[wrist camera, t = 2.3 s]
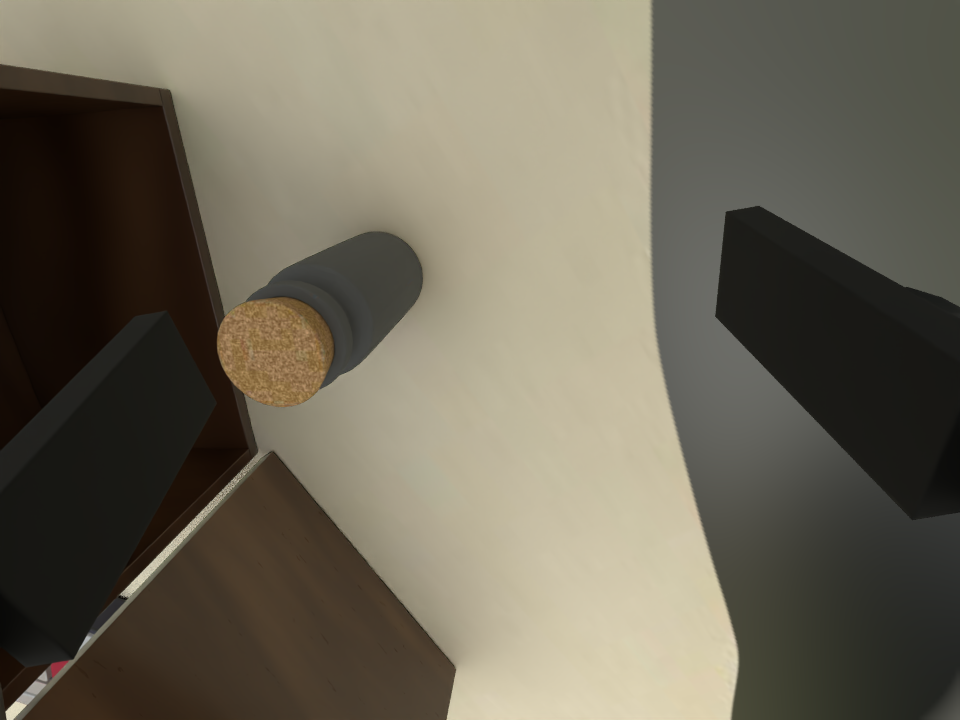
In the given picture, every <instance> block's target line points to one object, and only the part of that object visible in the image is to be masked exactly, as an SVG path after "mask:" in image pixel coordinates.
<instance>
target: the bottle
mask: <svg viewBox="0 0 960 720" xmlns="http://www.w3.org/2000/svg"><path fill="white" fill-rule="evenodd" d="M422 281H423V277H422V268H421V265H420V263H419V260H418V258H417V256H416V254H415V253H414V251H413V250H412V249H411V248H410V246H409V245H408V244H406V243H405V242H404V241H403V240H401V239H400V238H398V237H396V236H394V235H391V234H388V233H385V232H368V233H364V234H361V235H358V236H356V237H354V238H351V239H349V240H346V241H344V242H342V243H339V244H337V245H335V246H333V247H330V248H328V249H326V250H324V251H321V252H319V253H317V254H315V255H312V256H310V257H308V258H306V259H304V260H302V261H299V262H297V263H295V264H293V265H291V266H289V267H287V268H285V269H283V270H282V271H281V272H279V273H278V274H277V275H275V276H274V277H273V278H272V279H271V281H270V282H269V283H268V285H267V286H265V287H263V288H261V289H259V290H258V291H256V292H255V293H253V294H252V295H251V296H250V297H249V298H248V299H247V301H246V302H245V303H242V304H240V305H238V306H236V307H235V308H234V309H233V310H231V311H230V312H229V313H228V314H227V315H226V316H225V318H224V319H223V321H222V323H221V325H220V328H219V331H218V336H217V350H218V355H219V359H220V362H221V365H222V367H223V369H224V371H225V373H226V374H227V376H228V377H229V379H230V380H231V381H232V382H233V384H234V385H235V386H236V387H237V388H238V389H239V390H241V391H242V392H243V393H244V394H246V395H247V396H249V397H250V398H252V399H254V400H256V401H258V402H261V403H263V404H266V405H271V406H276V407H287V406H294V405H298V404H300V403H303V402H305V401H307V400H308V399H309V398H311V397H312V396H313V395H314V394H315V393H316V392H317V391H318V390H319V389H321V388H323V387H325V386H327V385H329V384H330V383H331V382H333V381H334V380H335V379H336V378H337V377H338V376H339V375H340V374H344V373H346V372H348V371H350V370H352V369H353V368H355V367H356V366H357V365H359V364H360V363H361V362H362V361H363V360H364V359H365V358H366V357H367V356H368V355H369V354H370V353H371V352H372V351H373V349H374V348H375V347H376V346H377V345H378V344H379V343H380V342H381V341H382V340H383V338H384V337H385V336H386V335H387V334H388V333H389V332H390V331H391V330H392V328H393V327H394V326H395V325H396V324H397V323H398V322H399V321H400V319H401V318H402V317H403V316H404V315H405V314H406V313H407V312H408V310H409V309H410V308H411V307H412V306H413V304H414V303H415V302H416V300H417V298H418V296H419V294H420V291H421V288H422Z"/></svg>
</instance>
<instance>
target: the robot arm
mask: <svg viewBox="0 0 960 720" xmlns="http://www.w3.org/2000/svg"><path fill="white" fill-rule="evenodd" d="M715 317H716V318H717V319H718V320H719V321H720V322H721V323H722V324H723V325H724V326H725V327H726V328H727V329H728V330H729V331H730V332H731V333H732V334H733V335H734V336H735V337H736V338H737V339H738V340H739V341H740V343H742V345H743V346H745V348H746V349H747V350H748V351H749V352H750V353H751V354H752V355H753V356H754V357H755V358H756V359H757V360H758V361H759V362H760V363H761V364H762V365H763V366H764V367H765V368H766V369H767V370H768V371H769V373H771V375H772V376H774V378H775V379H776V380H777V381H778V382H779V383H780V384H781V385H782V386H783V387H784V388H785V389H786V390H787V391H788V392H789V393H790V394H791V395H792V396H793V397H794V398H795V399H796V400H797V401H798V403H799V404H800V405H801V406H802V407H803V408H804V409H805V410H806V411H807V412H809V414H810V415H811V416H812V417H813V418H814V419H815V420H816V421H817V422H818V423H819V424H820V425H821V426H822V427H823V428H824V429H825V430H826V431H827V433H829V435H830V436H831V437H832V438H833V439H834V440H835V441H836V442H837V443H838V444H839V445H840V446H841V447H842V448H843V449H844V450H845V451H846V452H847V453H848V454H849V455H850V456H851V457H852V458H853V459H854V460H855V461H856V463H857V464H859V466H860V467H861V468H862V469H863V470H864V471H865V472H866V473H867V474H868V475H869V476H870V477H871V478H872V479H873V480H874V481H875V482H876V483H877V484H878V485H879V486H880V487H881V488H882V489H883V490H884V491H885V492H886V493H887V495H888V496H889V497H890V498H891V499H892V500H893V501H894V502H895V503H896V504H897V505H898V506H899V507H900V508H901V509H902V510H903V511H904V512H905V513H906V514H907V515H908V516H909V517H910V518H911V519H912V520H916V519H922V518H928V517H934V516H940V515H946V514H952V513H958V512H960V307H959V306H957V305H955V304H953V303H951V302H949V301H947V300H946V299H943V298H942V297H939V296H935V295H932V294H928V293H925V292H922V291H919V290H915V289H912V288H909V287H903V286H901V285H899V284H898V283H896V282H894V281H892V280H890V279H889V278H887V277H885V276H883V275H882V274H880V273H878V272H876V271H874V270H873V269H871V268H869V267H867V266H866V265H863V264H862V263H860V262H858V261H857V260H855V259H853V258H851V257H849V256H848V255H846V254H844V253H842V252H840V251H839V250H837V249H835V248H833V247H832V246H830V245H828V244H826V243H824V242H823V241H821V240H819V239H817V238H816V237H814V236H812V235H810V234H808V233H807V232H805V231H803V230H801V229H800V228H798V227H796V226H794V225H792V224H791V223H789V222H787V221H785V220H783V219H782V218H780V217H778V216H776V215H775V214H773V213H771V212H769V211H767V210H765V209H764V208H762V207H760V206H755V207H750V208H744V209H738V210H733V211H727V212H726V216H725V225H724V235H723V245H722V255H721V265H720V275H719V285H718V295H717V305H716V315H715ZM216 404H217V402H216V401H215V399H214V397H213V395H212V393H211V391H210V389H209V387H208V386H207V384H206V382H205V380H204V378H203V376H202V374H201V373H200V371H199V369H198V367H197V365H196V363H195V361H194V360H193V358H192V356H191V354H190V352H189V350H188V348H187V347H186V345H185V343H184V341H183V339H182V337H181V335H180V334H179V332H178V330H177V328H176V326H175V324H174V322H173V321H172V319H171V317H170V315H169V313H168V311H162V312H156V313H151V314H145V315H139V316H135V317H134V318H133V319H132V320H131V321H130V322H129V323H128V324H127V325H126V326H125V327H124V328H123V329H122V330H121V331H120V332H119V333H118V334H117V335H116V336H115V337H114V338H113V339H112V340H111V341H110V342H109V343H108V344H107V345H106V346H105V347H104V348H103V349H102V350H101V351H100V352H99V353H98V354H97V355H96V356H95V357H94V358H93V359H92V360H91V361H90V362H89V363H88V364H87V365H86V366H85V367H84V368H83V369H82V370H81V371H80V372H79V373H78V374H77V375H76V376H75V377H74V378H73V379H72V380H71V381H70V382H69V383H68V384H67V385H66V386H65V387H64V388H63V389H62V390H61V391H60V392H59V393H58V394H57V395H56V396H55V397H54V398H53V399H52V400H51V401H50V402H49V403H48V404H47V405H46V406H45V407H44V408H43V409H42V410H41V411H40V412H39V413H38V414H37V415H36V416H35V417H34V418H33V419H32V420H31V421H30V422H29V423H28V424H27V425H26V426H25V427H24V428H23V429H22V430H21V431H20V432H19V433H18V434H17V435H16V436H15V437H14V438H13V439H12V440H11V441H10V442H9V443H8V444H7V445H6V446H5V447H4V448H3V449H2V450H1V451H0V648H1V647H2V648H3V649H4V650H5V651H7V652H8V653H9V654H10V655H11V656H13V657H14V658H15V659H16V660H17V661H19V662H20V663H21V664H22V665H23V666H25V667H32V666H38V665H44V664H50V663H56V662H62V661H68V660H74V658H75V656H76V654H77V652H78V651H79V649H80V647H81V645H82V644H83V642H84V640H85V638H86V636H87V635H88V633H89V631H90V629H91V627H92V626H93V624H94V622H95V620H96V618H97V617H98V615H99V613H100V611H101V610H102V608H103V606H104V604H105V602H106V601H107V599H108V597H109V595H110V593H111V592H112V590H113V588H114V586H115V585H116V583H117V581H118V579H119V577H120V576H121V574H122V572H123V570H124V568H125V567H126V565H127V563H128V561H129V559H130V558H131V556H132V554H133V552H134V551H135V549H136V547H137V545H138V543H139V542H140V540H141V538H142V536H143V534H144V533H145V531H146V529H147V527H148V525H149V524H150V522H151V520H152V518H153V517H154V515H155V513H156V511H157V509H158V508H159V506H160V504H161V502H162V500H163V499H164V497H165V495H166V493H167V491H168V490H169V488H170V486H171V484H172V483H173V481H174V479H175V477H176V475H177V474H178V472H179V470H180V468H181V466H182V465H183V463H184V461H185V459H186V458H187V456H188V454H189V452H190V450H191V449H192V447H193V445H194V443H195V441H196V440H197V438H198V436H199V434H200V432H201V431H202V429H203V427H204V425H205V424H206V422H207V420H208V418H209V416H210V415H211V413H212V411H213V409H214V407H215V406H216ZM0 720H6V713H5V707H4V700H3V694H2V688H1V683H0Z"/></svg>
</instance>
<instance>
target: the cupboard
mask: <svg viewBox="0 0 960 720" xmlns="http://www.w3.org/2000/svg"><path fill="white" fill-rule="evenodd" d="M162 311H168V313H169V315H170V317H171V319H172V321H173V322H174V324H175V326H176V328H177V330H178V332H179V334H180V335H181V337H182V339H183V341H184V343H185V345H186V347H187V348H188V350H189V352H190V354H191V356H192V358H193V360H194V361H195V363H196V365H197V367H198V369H199V371H200V373H201V374H202V376H203V378H204V380H205V382H206V384H207V386H208V387H209V389H210V391H211V393H212V395H213V397H214V399H215V401H216V402H217V404H216V406H215V407H214V409H213V411H212V413H211V415H210V416H209V418H208V420H207V422H206V424H205V425H204V427H203V429H202V431H201V432H200V434H199V436H198V438H197V440H196V441H195V443H194V445H193V447H192V449H191V450H190V452H189V454H188V456H187V458H186V459H185V461H184V463H183V465H182V466H181V468H180V470H179V472H178V474H177V475H176V477H175V479H174V481H173V483H172V484H171V486H170V488H169V490H168V491H167V493H166V495H165V497H164V499H163V500H162V502H161V504H160V506H159V508H158V509H157V511H156V513H155V515H154V517H153V518H152V520H151V522H150V524H149V525H148V527H147V529H146V531H145V533H144V534H143V536H142V538H141V540H140V542H139V543H138V545H137V547H136V549H135V551H134V552H133V554H132V556H131V558H130V559H129V561H128V563H127V565H126V567H125V568H124V570H123V572H122V574H121V576H120V577H119V579H118V581H117V583H116V585H115V586H114V588H113V590H112V592H111V593H110V595H109V597H108V599H107V601H106V602H105V604H104V606H103V608H102V610H101V611H100V613H99V615H100V614H101V613H102V612H103V611H104V610H105V609H106V608H107V607H108V606H109V605H110V604H111V603H112V602H113V601H114V600H115V599H116V598H117V597H118V596H119V595H120V594H121V593H122V592H123V591H124V590H125V589H126V588H127V587H128V586H129V585H130V584H131V583H132V581H133V580H134V579H135V578H136V577H137V576H138V575H139V574H140V573H141V572H142V571H143V570H144V569H145V568H146V567H147V566H148V565H149V564H150V563H151V562H152V561H153V560H154V559H155V558H156V557H157V556H158V555H159V554H160V553H161V552H162V551H163V550H164V549H165V548H166V547H167V546H168V545H169V544H170V543H171V542H172V541H173V540H174V539H175V537H176V536H177V535H178V534H179V533H180V532H181V531H182V530H183V529H184V528H185V527H186V526H187V525H188V524H189V523H190V522H191V521H192V520H193V519H194V518H195V517H196V516H197V515H198V514H199V513H200V512H201V511H202V510H203V509H204V508H205V507H206V506H207V505H208V504H209V503H210V502H211V501H212V500H213V499H214V498H215V497H216V496H217V494H218V493H219V492H220V491H221V490H222V489H223V488H224V487H225V486H226V485H227V484H228V483H229V482H230V481H231V480H232V479H233V478H234V477H235V476H236V475H237V474H238V473H239V472H240V471H241V470H242V469H243V468H244V467H245V466H246V465H247V464H248V463H249V462H250V461H251V459H252V458H253V457H254V456H255V455H256V454H257V453H258V452H257V448H256V444H255V440H254V436H253V431H252V427H251V423H250V419H249V415H248V411H247V407H246V403H245V399H244V394H243V392H242V391H241V390H239V389H238V388H237V387H236V386H235V385H234V384H233V382H232V381H231V380H230V379H229V377H228V376H227V374H226V373H225V371H224V369H223V367H222V365H221V362H220V359H219V355H218V350H217V336H218V331H219V328H220V325H221V323H222V321H223V319H224V318H225V316H224V312H223V308H222V304H221V300H220V296H219V292H218V288H217V283H216V279H215V275H214V271H213V267H212V263H211V259H210V255H209V251H208V246H207V242H206V238H205V234H204V230H203V226H202V222H201V218H200V214H199V209H198V205H197V201H196V197H195V193H194V189H193V185H192V181H191V177H190V172H189V168H188V164H187V160H186V156H185V152H184V148H183V144H182V140H181V135H180V131H179V127H178V123H177V119H176V115H175V111H174V107H173V103H172V98H171V94H170V91H169V90H168V89H161V88H155V87H148V86H142V85H135V84H129V83H122V82H115V81H109V80H102V79H96V78H89V77H83V76H76V75H69V74H63V73H56V72H50V71H43V70H37V69H30V68H23V67H17V66H10V65H4V64H0V451H1V450H2V449H3V448H4V447H5V446H6V445H7V444H8V443H9V442H10V441H11V440H12V439H13V438H14V437H15V436H16V435H17V434H18V433H19V432H20V431H21V430H22V429H23V428H24V427H25V426H26V425H27V424H28V423H29V422H30V421H31V420H32V419H33V418H34V417H35V416H36V415H37V414H38V413H39V412H40V411H41V410H42V409H43V408H44V407H45V406H46V405H47V404H48V403H49V402H50V401H51V400H52V399H53V398H54V397H55V396H56V395H57V394H58V393H59V392H60V391H61V390H62V389H63V388H64V387H65V386H66V385H67V384H68V383H69V382H70V381H71V380H72V379H73V378H74V377H75V376H76V375H77V374H78V373H79V372H80V371H81V370H82V369H83V368H84V367H85V366H86V365H87V364H88V363H89V362H90V361H91V360H92V359H93V358H94V357H95V356H96V355H97V354H98V353H99V352H100V351H101V350H102V349H103V348H104V347H105V346H106V345H107V344H108V343H109V342H110V341H111V340H112V339H113V338H114V337H115V336H116V335H117V334H118V333H119V332H120V331H121V330H122V329H123V328H124V327H125V326H126V325H127V324H128V323H129V322H130V321H131V320H132V319H133V318H134V317H135V316H139V315H145V314H151V313H156V312H162ZM99 615H98V616H99ZM51 664H52V663H50V664H44V665H38V666H32V667H25V666H23V665H22V664H21V663H20V662H19V661H17V660H16V659H15V658H14V657H13V656H11V655H10V654H9V653H8V652H7V651H5V650H4V649H3V648H2V647H1V648H0V683H1V688H2V694H3V700H4V707H5V711H6V710H7V709H8V708H9V707H10V706H11V705H12V704H13V703H14V702H15V701H16V700H17V699H18V698H19V697H20V696H21V695H22V694H23V693H24V692H25V691H26V690H27V689H28V688H29V687H30V686H31V685H32V684H33V683H34V682H35V681H36V680H37V679H38V678H39V677H40V676H41V675H42V674H43V673H44V672H45V671H46V670H47V669H48V667H49V666H50V665H51Z"/></svg>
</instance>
